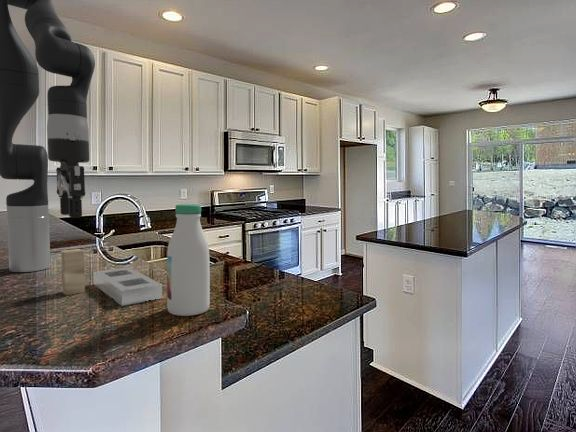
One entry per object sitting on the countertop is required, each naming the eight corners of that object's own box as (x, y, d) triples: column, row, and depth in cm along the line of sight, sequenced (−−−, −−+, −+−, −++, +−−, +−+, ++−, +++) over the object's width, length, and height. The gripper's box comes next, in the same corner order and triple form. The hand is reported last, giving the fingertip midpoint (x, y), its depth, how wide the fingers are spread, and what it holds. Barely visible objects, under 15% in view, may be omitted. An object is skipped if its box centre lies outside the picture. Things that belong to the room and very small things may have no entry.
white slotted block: (93, 284, 88) (93, 271, 87) (129, 279, 93) (128, 267, 93) (121, 306, 73) (121, 290, 72) (162, 298, 78) (161, 284, 78)
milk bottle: (217, 306, 74) (217, 204, 72) (194, 319, 66) (194, 206, 65) (183, 301, 76) (182, 203, 74) (158, 313, 69) (157, 204, 67)
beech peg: (62, 291, 82) (60, 250, 81) (80, 288, 84) (79, 249, 83) (65, 295, 79) (64, 253, 78) (84, 292, 81) (83, 251, 81)
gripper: (41, 140, 82) (44, 214, 83) (54, 133, 71) (57, 219, 72) (80, 143, 87) (82, 213, 88) (97, 137, 76) (99, 217, 77)
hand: (70, 216), depth 80 cm, fingers open, 8 cm apart
